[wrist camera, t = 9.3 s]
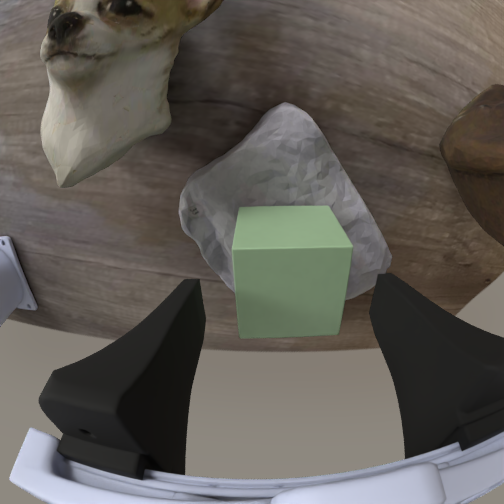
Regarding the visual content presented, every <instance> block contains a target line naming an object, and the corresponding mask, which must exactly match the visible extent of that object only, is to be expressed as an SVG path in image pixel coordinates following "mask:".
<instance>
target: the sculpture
mask: <svg viewBox="0 0 504 504" xmlns="http://www.w3.org/2000/svg"><path fill="white" fill-rule="evenodd" d="M440 151H441V154H442V157H443V158H444V160H445V161H446V163H447V166H448V168H449V171H450V173H451V176H452V178H453V181H454V183H455V185H456V187H457V189H458V191H459V193H460V195H461V197H462V199H463V201H464V203H465V205H466V207H467V209H468V210H469V212H470V214H471V215H472V216H473V217H474V218H475V220H476V221H477V222H478V223H479V225H480V226H481V227H482V228H483V229H484V231H486V232H487V233H488V234H489V235H490V236H492V237H493V238H494V239H495V240H497V241H498V242H499V243H500V244H502V245H503V246H504V85H499V84H495V85H491V86H490V87H489V88H487V89H486V90H484V91H483V92H482V93H480V94H479V95H478V96H476V97H475V98H474V99H473V100H472V101H471V102H470V103H469V104H468V105H467V106H465V107H464V109H463V110H462V111H461V112H460V113H459V115H458V116H457V117H456V118H455V119H454V120H453V122H452V124H451V125H450V126H449V128H448V129H447V131H446V133H445V135H444V137H443V138H442V140H441V142H440Z"/></svg>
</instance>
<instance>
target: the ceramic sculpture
mask: <svg viewBox="0 0 504 504" xmlns="http://www.w3.org/2000/svg"><path fill="white" fill-rule="evenodd" d="M222 1H223V0H55V5H54V7H53V8H52V10H51V12H50V16H49V19H48V26H47V32H46V37H45V38H44V40H43V43H42V46H41V52H40V55H41V60H42V61H43V62H44V63H45V64H46V66H47V72H48V77H49V84H50V94H49V99H48V102H47V105H46V109H45V112H44V115H43V118H42V123H41V138H42V147H43V150H44V152H45V154H46V156H47V158H48V160H49V162H50V164H51V166H52V168H53V170H54V172H55V174H56V179H57V184H58V185H59V186H60V187H61V188H66V187H72V186H74V185H76V184H77V183H79V182H80V181H82V180H84V179H86V178H88V177H90V176H92V175H94V174H96V173H97V172H99V171H100V170H103V169H105V168H107V167H109V166H110V165H111V164H113V163H114V162H115V161H117V160H119V159H120V158H121V157H123V156H124V155H125V153H126V152H127V151H128V150H129V149H130V148H131V147H132V146H133V145H135V144H136V143H138V142H140V141H142V140H143V139H145V138H147V137H149V136H152V135H158V134H161V133H163V132H164V131H165V130H166V129H167V128H168V127H169V126H170V124H171V115H170V109H169V104H168V101H167V91H168V80H169V73H170V70H171V68H172V67H173V64H174V59H175V57H176V56H177V54H178V52H179V50H178V46H179V43H180V39H181V37H182V35H183V34H184V33H186V32H187V31H188V30H190V29H191V28H193V27H194V26H196V25H198V24H199V23H200V22H202V21H203V20H205V19H206V18H207V17H209V16H210V15H211V14H212V13H213V12H214V11H215V10H216V9H217V8H219V6H220V5H221V3H222Z"/></svg>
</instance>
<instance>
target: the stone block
mask: <svg viewBox="0 0 504 504" xmlns="http://www.w3.org/2000/svg"><path fill="white" fill-rule="evenodd" d="M256 206H329V207H330V209H331V210H332V212H333V213H334V215H335V217H336V218H337V220H338V222H339V223H340V225H341V226H342V228H343V230H344V231H345V233H346V235H347V236H348V238H349V240H350V242H351V243H352V245H353V254H352V261H351V268H350V275H349V281H348V287H347V293H346V299H345V300H348V299H351V298H354V297H356V296H358V295H360V294H362V293H364V292H366V291H367V290H369V289H371V288H372V287H374V286H375V285H376V280H377V275H378V274H383V273H386V270H387V268H389V267H390V264H391V260H392V255H391V253H390V251H389V248H388V246H387V244H386V242H385V239H384V237H383V235H382V233H381V231H380V230H379V228H378V226H377V224H376V222H375V220H374V218H373V216H372V215H371V213H370V211H369V209H368V208H367V206H366V204H365V203H364V201H363V199H362V198H361V196H360V194H359V193H358V191H357V190H356V188H355V187H354V185H353V184H352V182H351V180H350V179H349V177H348V175H347V174H346V172H345V170H344V169H343V167H342V165H341V164H340V162H339V160H338V158H337V157H336V155H335V154H334V152H333V151H332V149H331V147H330V145H329V143H328V141H327V139H326V137H325V136H324V134H323V133H322V132H321V130H320V129H319V127H318V126H317V124H316V123H315V122H314V120H313V119H312V118H311V117H310V116H309V115H308V114H307V113H306V112H305V111H303V110H302V109H300V108H298V107H297V106H295V105H293V104H290V103H287V102H284V103H281V104H279V105H277V106H276V107H274V108H271V109H269V110H268V111H267V112H266V113H265V114H264V115H263V116H262V117H261V119H260V120H259V122H258V123H257V124H256V125H255V126H254V128H253V129H252V130H251V131H250V132H249V133H248V134H247V135H246V136H245V138H244V139H243V140H242V141H241V142H240V143H238V144H237V145H236V146H234V147H233V148H232V149H230V150H229V151H228V152H227V153H226V154H224V155H222V156H220V157H218V158H216V159H214V160H213V161H212V162H210V163H209V164H208V165H206V166H204V167H202V168H200V169H198V170H197V171H195V172H194V173H193V174H192V175H191V176H190V177H189V179H188V180H187V183H186V186H185V187H184V189H183V191H182V193H181V196H180V205H179V215H180V220H181V226H182V229H183V230H184V232H185V233H186V234H187V235H188V236H190V237H191V238H192V239H193V240H195V241H196V243H197V244H198V246H199V247H200V251H201V255H202V256H203V258H204V259H205V260H206V262H207V263H208V265H209V266H210V267H211V268H212V270H213V271H215V272H216V274H217V275H220V277H221V278H222V280H223V281H224V282H225V284H226V285H227V286H228V287H229V288H230V289H231V290H232V291H233V292H234V293H235V284H234V272H233V260H232V245H233V239H234V234H235V228H236V222H237V217H238V211H239V207H256Z"/></svg>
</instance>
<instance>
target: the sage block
mask: <svg viewBox="0 0 504 504" xmlns="http://www.w3.org/2000/svg"><path fill="white" fill-rule="evenodd" d="M352 254H353V245H352V243H351V242H350V240H349V238H348V236H347V235H346V233H345V231H344V230H343V228H342V226H341V225H340V223H339V222H338V220H337V218H336V217H335V215H334V213H333V212H332V210H331V209H330V207H329V206H256V207H239V211H238V217H237V222H236V228H235V234H234V239H233V245H232V260H233V272H234V284H235V297H236V308H237V320H238V331H239V338H286V337H309V336H326V335H338V334H339V331H340V326H341V321H342V315H343V310H344V305H345V299H346V293H347V287H348V281H349V275H350V268H351V261H352Z"/></svg>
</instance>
